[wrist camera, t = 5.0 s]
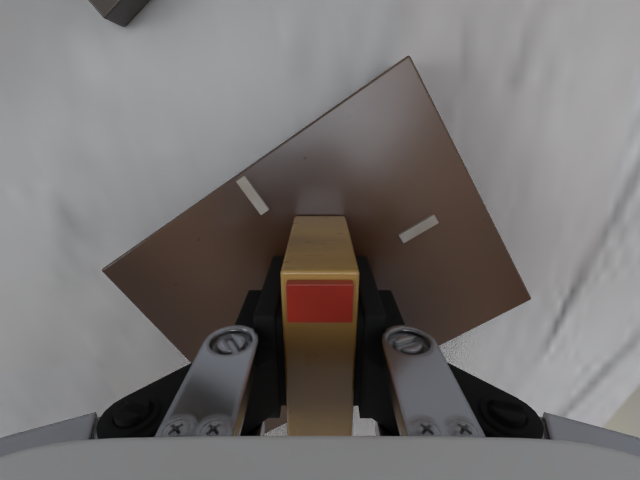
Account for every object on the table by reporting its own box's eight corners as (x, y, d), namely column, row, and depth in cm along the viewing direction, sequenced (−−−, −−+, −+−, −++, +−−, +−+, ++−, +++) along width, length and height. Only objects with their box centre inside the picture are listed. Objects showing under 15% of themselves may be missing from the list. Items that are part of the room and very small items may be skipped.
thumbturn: (341, 346, 14) (352, 457, 9) (297, 346, 14) (287, 457, 9) (345, 215, 12) (361, 276, 7) (294, 215, 12) (278, 276, 7)
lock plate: (268, 393, 18) (260, 439, 15) (134, 246, 15) (97, 272, 12) (499, 271, 15) (534, 301, 13) (392, 65, 12) (411, 53, 10)
